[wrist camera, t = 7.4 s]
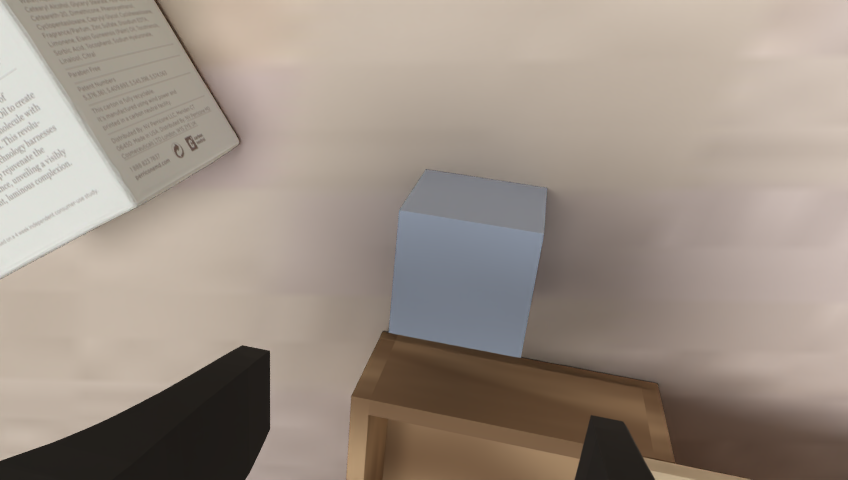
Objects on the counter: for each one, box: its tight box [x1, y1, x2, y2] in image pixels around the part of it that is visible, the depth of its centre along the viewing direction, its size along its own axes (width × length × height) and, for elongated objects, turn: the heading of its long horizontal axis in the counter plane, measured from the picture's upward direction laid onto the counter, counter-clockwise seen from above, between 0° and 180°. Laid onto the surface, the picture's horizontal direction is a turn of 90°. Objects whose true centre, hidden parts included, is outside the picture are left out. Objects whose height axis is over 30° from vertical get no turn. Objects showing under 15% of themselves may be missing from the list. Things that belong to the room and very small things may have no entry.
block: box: [389, 169, 547, 358], centre depth 20 cm, size 4×4×4 cm
